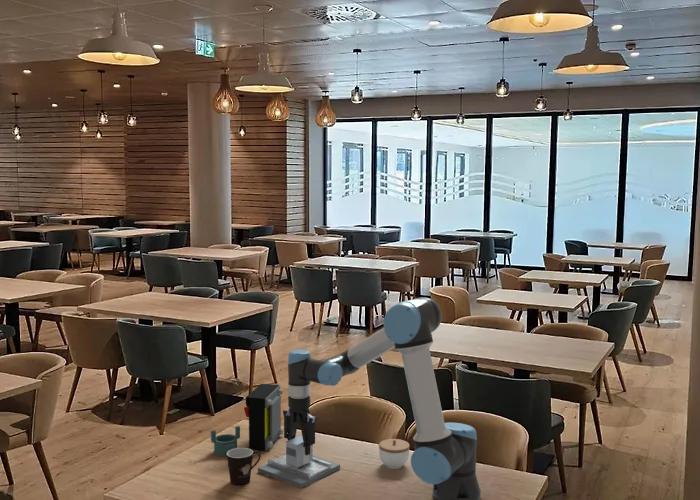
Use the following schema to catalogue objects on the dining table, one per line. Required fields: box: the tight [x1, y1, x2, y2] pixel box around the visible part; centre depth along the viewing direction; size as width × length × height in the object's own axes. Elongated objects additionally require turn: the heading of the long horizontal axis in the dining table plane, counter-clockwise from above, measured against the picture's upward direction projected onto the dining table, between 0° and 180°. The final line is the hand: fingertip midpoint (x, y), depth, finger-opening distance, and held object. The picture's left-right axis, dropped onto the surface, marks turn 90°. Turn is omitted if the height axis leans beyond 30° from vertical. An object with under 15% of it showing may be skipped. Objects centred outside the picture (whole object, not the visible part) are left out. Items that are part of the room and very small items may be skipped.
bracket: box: [210, 425, 241, 457], centre depth 255 cm, size 9×9×9 cm
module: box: [285, 434, 314, 468], centre depth 238 cm, size 5×8×8 cm, turn 142°
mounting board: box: [257, 455, 341, 489], centre depth 239 cm, size 20×20×2 cm
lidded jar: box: [378, 438, 411, 470], centre depth 243 cm, size 11×11×9 cm
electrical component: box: [243, 383, 284, 452], centre depth 264 cm, size 18×10×20 cm, turn 168°
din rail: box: [267, 453, 331, 479], centre depth 239 cm, size 19×12×2 cm, turn 51°
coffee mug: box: [226, 447, 262, 487], centre depth 229 cm, size 12×9×10 cm
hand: (299, 461), depth 239 cm, fingers closed on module, 5 cm apart
